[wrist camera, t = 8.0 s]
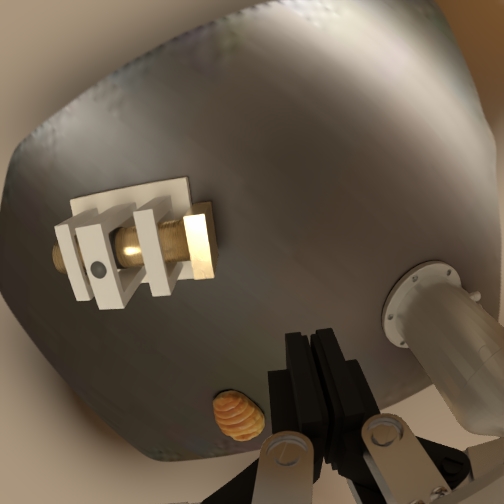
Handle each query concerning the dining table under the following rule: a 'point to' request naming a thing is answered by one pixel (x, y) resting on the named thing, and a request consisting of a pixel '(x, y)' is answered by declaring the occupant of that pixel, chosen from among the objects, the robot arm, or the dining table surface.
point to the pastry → (238, 415)
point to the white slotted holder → (99, 249)
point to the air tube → (165, 243)
